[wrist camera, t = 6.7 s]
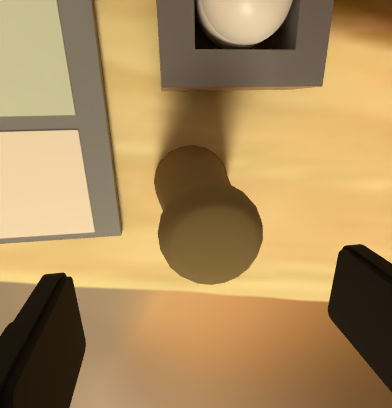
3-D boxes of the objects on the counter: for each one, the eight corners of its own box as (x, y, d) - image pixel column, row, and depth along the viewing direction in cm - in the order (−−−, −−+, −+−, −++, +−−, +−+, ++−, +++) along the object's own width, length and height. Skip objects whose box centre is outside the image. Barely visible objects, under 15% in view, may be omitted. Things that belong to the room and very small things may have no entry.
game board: (89, -32, 17) (85, -39, 16) (122, 231, 23) (120, 235, 22) (-129, -40, 15) (-146, -48, 14) (-30, 241, 22) (-38, 246, 21)
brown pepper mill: (139, 189, 22) (119, 264, 12) (185, 129, 21) (209, 154, 10) (196, 228, 24) (222, 324, 13) (241, 176, 22) (308, 236, 12)
